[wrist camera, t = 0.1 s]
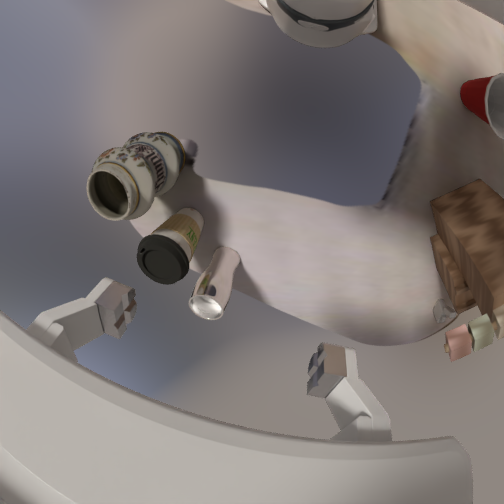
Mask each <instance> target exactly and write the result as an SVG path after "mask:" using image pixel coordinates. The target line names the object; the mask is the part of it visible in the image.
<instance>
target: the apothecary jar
mask: <svg viewBox="0 0 504 504" xmlns="http://www.w3.org/2000/svg"><path fill="white" fill-rule="evenodd" d="M184 163H185V152H184V149H183V146H182V144H181V143H180V141H179V140H178V139H177V138H176V137H174V136H173V135H171V134H169V133H166V132H156V133H148V132H146V133H140V134H137V135H135V136H133V137H131V138H130V139H129V140H128V141H127V142H126V143H125V144H124V146H123V147H122V148H121V147H120V148H119V147H118V148H112V149H109V150H107V151H105V152H104V153H102V154H101V155H100V156H99V157H98V158H97V160H96V162H95V163H94V166H93V168H92V173H91V174H90V176H89V178H88V181H87V195H88V199H89V201H90V203H91V205H92V206H93V208H94V209H95V210H96V212H98V214H100V215H101V216H102V217H104V218H106V219H109V220H116V221H117V220H121V219H124V220H131V219H136V218H138V217H140V216H142V215H144V214H145V213H146V212H147V211H148V210H149V209H150V207H151V205H152V203H153V201H154V197H157V196H160V195H163V194H165V193H166V192H168V191H169V190H170V189H171V188H172V187H173V186H174V184H175V182H176V180H177V178H178V174H179V173H180V172H181V170H182V169H183V166H184Z"/></svg>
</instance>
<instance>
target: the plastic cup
mask: <svg viewBox="0 0 504 504" xmlns="http://www.w3.org/2000/svg"><path fill="white" fill-rule="evenodd" d="M460 95H461V100H462V102H463V104H464V105H465V106H466V107H467V109H468V110H470V111H471V112H473V113H474V114H475V115H476V116H478V117H479V118H481V119H482V120H483V121H485V122H486V123H487V124H489V125H490V126H491V128H492V129H493V130H494V132H495V133H496V135H497V136H498V137H500V138H501V139H503V140H504V73H499V74H498V75H496V76H491V77H486V78H479V79H474V80H470V81H467V82H465V83H464V84H463V85H462V87H461V91H460Z"/></svg>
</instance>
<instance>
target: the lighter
mask: <svg viewBox="0 0 504 504" xmlns="http://www.w3.org/2000/svg"><path fill="white" fill-rule="evenodd" d="M433 312H434V315H435V318H436V321H437V323H442V322H444V321H445V319H446V315H447V316H448V317H449V318H455V316H456V312H455V311H454V310H453V309H452V308H450V307H446V306H445V303H444V301H443V299H438V301H437V303H436V305H435V307H434V309H433Z"/></svg>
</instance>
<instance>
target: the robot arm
mask: <svg viewBox="0 0 504 504" xmlns="http://www.w3.org/2000/svg"><path fill="white" fill-rule="evenodd" d="M457 1H459V2H461V3H463V4H465V5H467V6H469V7H471V8H473V9H475V10H477V11H479V12H481V13H483V14H485V15H487V16H488V17H490V18H492V19H494V20H495V21H497V22H499V23H501V24H504V0H457ZM259 3H260V4H261V5H262V6H263V7H264V8H265V9H267V10H268V11H269V12H270V13H271V14H272V15H273V17H274V19H275V21H276V23H277V25H278V26H279V27H280V29H281V30H282V31H283V32H284V33H285V34H286V35H288V36H289V37H290V38H292V39H293V40H295V41H297V42H299V43H302V44H304V45H307V46H312V47H317V48H331V47H337V46H341V45H344V44H346V43H348V42H350V41H351V40H353V39H354V38H355V37H357V36H359V35H364V34H370V33H373V32H375V31H376V29H377V1H376V0H259ZM135 295H136V293H135V289H134V288H131V287H129V286H126V285H124V284H121V283H119V282H117V281H114V280H111V279H109V278H107V277H106V278H104V279H102V280H101V281H100V283H99V284H98V285H97V286H96V287H95V288H94V289H93V290H92V291H91V293H90V294H89V295H88V296H87V297H86V298H85V299H84V298H81V299H78V300H75V301H72V302H69V303H66V304H64V305H61V306H58V307H55V308H53V309H50V310H48V311H44V312H42V313H41V314H40V315H39V316H38V317H37V318H36V319H35V320H34V321H33V323H32V324H31V325H30V326H29V327H28V328H27V330H25V329H24V328H22V327H21V326H20V325H18V324H17V323H16V322H14V321H13V320H12V319H10V318H9V317H8V316H7V315H6V314H4V313H3V312H2V311H1V310H0V504H473V477H472V465H471V459H470V456H469V454H468V453H467V451H466V450H465V448H464V447H463V446H462V445H461V443H460V442H459V441H458V440H457V439H456V438H455V437H453V436H445V437H438V438H430V439H420V440H407V441H392V435H391V425H390V417H389V415H388V414H387V413H386V411H385V410H384V409H383V407H382V406H381V405H380V403H379V402H378V400H377V399H376V398H375V396H374V395H373V394H372V392H371V391H370V390H369V389H368V387H367V386H366V384H365V383H364V382H363V380H362V379H359V376H358V367H357V359H356V352H355V349H354V348H349V347H343V346H339V345H333V344H328V343H323V342H322V343H320V345H319V346H318V352H317V353H314V354H313V356H312V358H311V360H310V363H309V367H308V375H309V376H310V379H309V381H308V382H307V395H310V396H315V397H321V398H325V401H326V403H327V405H328V407H329V408H330V410H331V412H332V414H333V416H334V418H335V420H336V422H337V424H338V426H339V428H340V430H341V431H340V432H339V433H338V434H336V435H335V436H334V437H332V438H331V439H330V440H325V439H315V438H306V437H298V436H291V435H284V434H278V433H272V432H267V431H262V430H257V429H252V428H247V427H243V426H238V425H234V424H230V423H226V422H222V421H218V420H215V419H211V418H208V417H205V416H201V415H198V414H195V413H192V412H188V411H185V410H182V409H179V408H177V407H174V406H171V405H168V404H165V403H163V402H160V401H157V400H155V399H152V398H149V397H147V396H145V395H142V394H140V393H138V392H135V391H133V390H131V389H128V388H126V387H124V386H122V385H120V384H117V383H115V382H113V381H111V380H109V379H107V378H105V377H103V376H101V375H99V374H97V373H95V372H93V371H91V370H89V369H88V368H85V367H84V366H82V365H80V364H78V363H77V362H78V361H77V358H76V356H75V354H74V352H73V351H74V350H76V349H78V348H79V347H81V346H83V345H85V344H86V343H88V342H90V341H92V340H93V339H95V338H97V337H99V336H101V335H103V334H104V333H106V334H108V335H111V336H113V337H115V338H118V339H120V338H121V336H122V335H123V334H124V332H125V331H126V329H127V328H126V324H128V323H130V322H132V320H133V318H134V316H135V313H136V309H137V303H136V301H135V300H134V297H135Z"/></svg>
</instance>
